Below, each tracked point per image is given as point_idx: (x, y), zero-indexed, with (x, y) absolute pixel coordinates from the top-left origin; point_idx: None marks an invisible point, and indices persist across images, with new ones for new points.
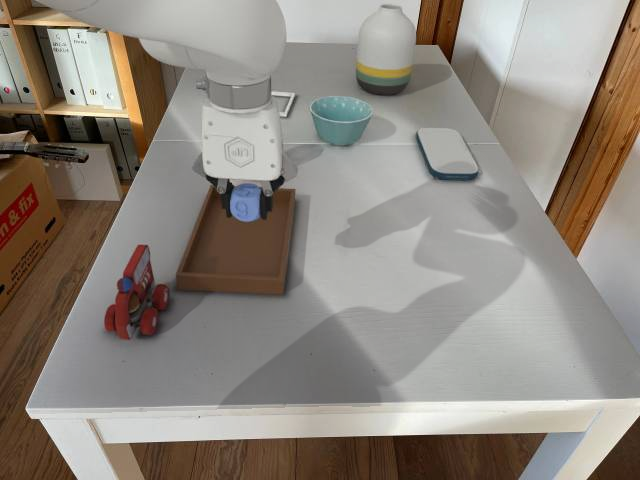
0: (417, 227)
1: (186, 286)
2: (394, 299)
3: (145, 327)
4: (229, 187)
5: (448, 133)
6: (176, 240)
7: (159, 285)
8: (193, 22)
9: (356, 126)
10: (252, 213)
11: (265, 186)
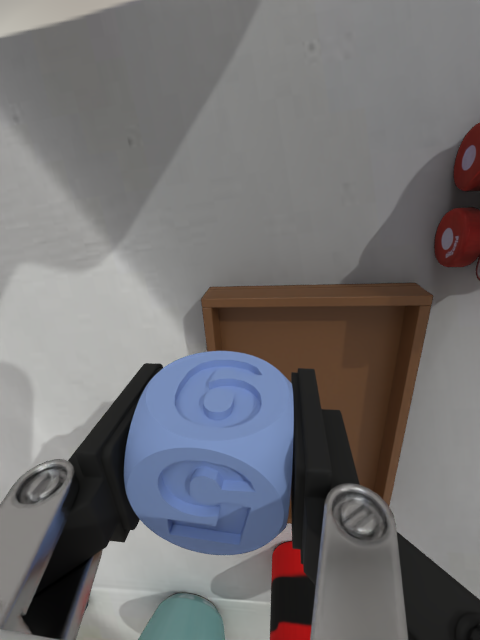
0: (42, 441)
1: (400, 285)
2: (31, 292)
3: None
4: (305, 532)
5: None
6: (432, 407)
7: (473, 251)
8: None
9: (150, 636)
10: (182, 373)
11: (17, 533)
